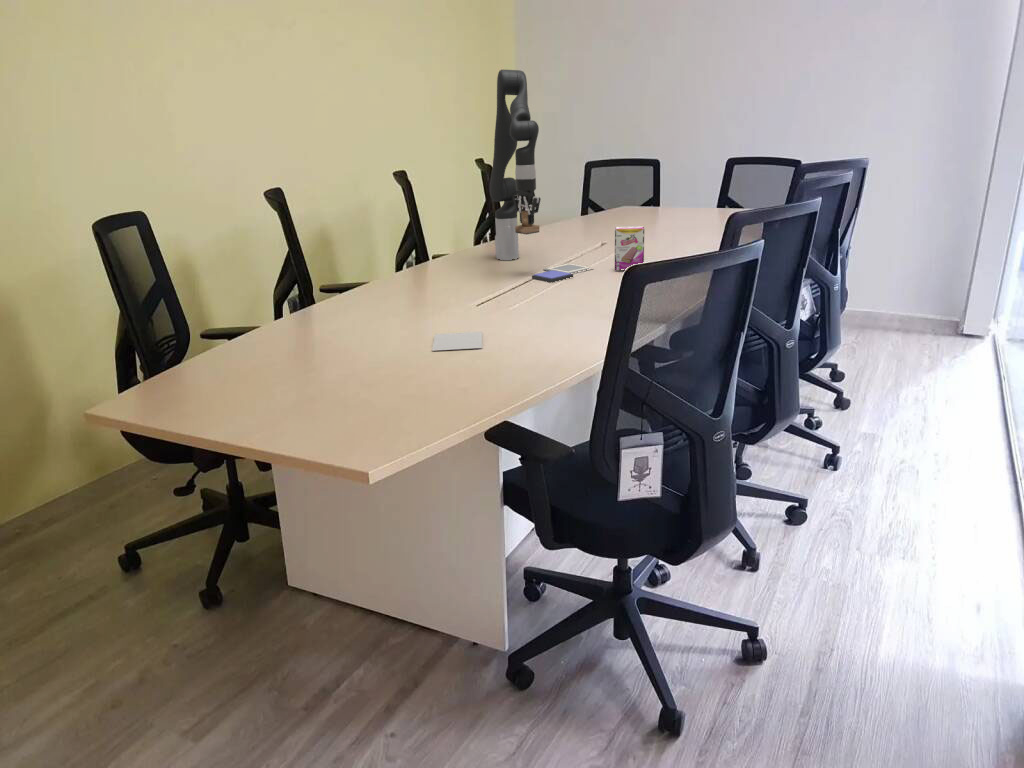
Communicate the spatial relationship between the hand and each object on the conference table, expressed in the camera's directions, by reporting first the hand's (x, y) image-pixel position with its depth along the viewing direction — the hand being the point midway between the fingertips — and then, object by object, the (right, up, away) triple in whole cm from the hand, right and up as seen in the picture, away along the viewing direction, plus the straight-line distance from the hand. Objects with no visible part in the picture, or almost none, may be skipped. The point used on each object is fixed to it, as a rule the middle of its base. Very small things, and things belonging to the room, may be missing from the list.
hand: (527, 223), depth 314 cm
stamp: (0, -3, +1) cm, 3 cm away
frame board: (+16, -16, +11) cm, 25 cm away
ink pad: (+9, -21, -2) cm, 23 cm away
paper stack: (-16, -50, -79) cm, 95 cm away
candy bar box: (+39, -17, +5) cm, 43 cm away
